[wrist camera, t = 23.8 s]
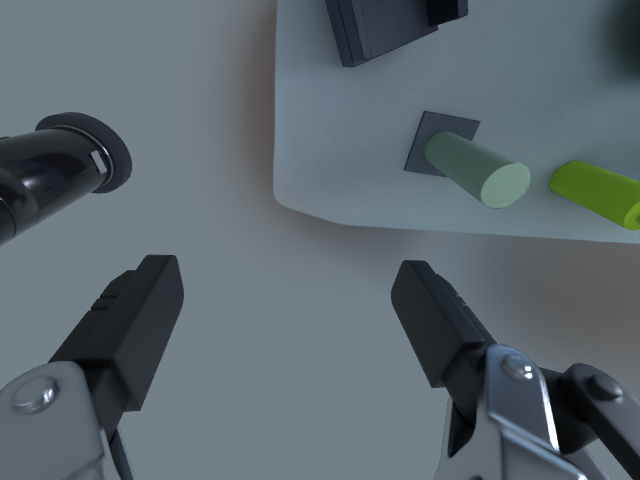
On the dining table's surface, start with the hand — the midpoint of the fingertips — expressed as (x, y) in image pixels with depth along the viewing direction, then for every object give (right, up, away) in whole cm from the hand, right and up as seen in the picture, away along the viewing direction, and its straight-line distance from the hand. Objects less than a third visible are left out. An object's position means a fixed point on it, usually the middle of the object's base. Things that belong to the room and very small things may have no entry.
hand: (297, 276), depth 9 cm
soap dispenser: (+44, +12, +37) cm, 59 cm away
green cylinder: (+20, +16, +32) cm, 41 cm away
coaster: (+20, +16, +32) cm, 41 cm away
